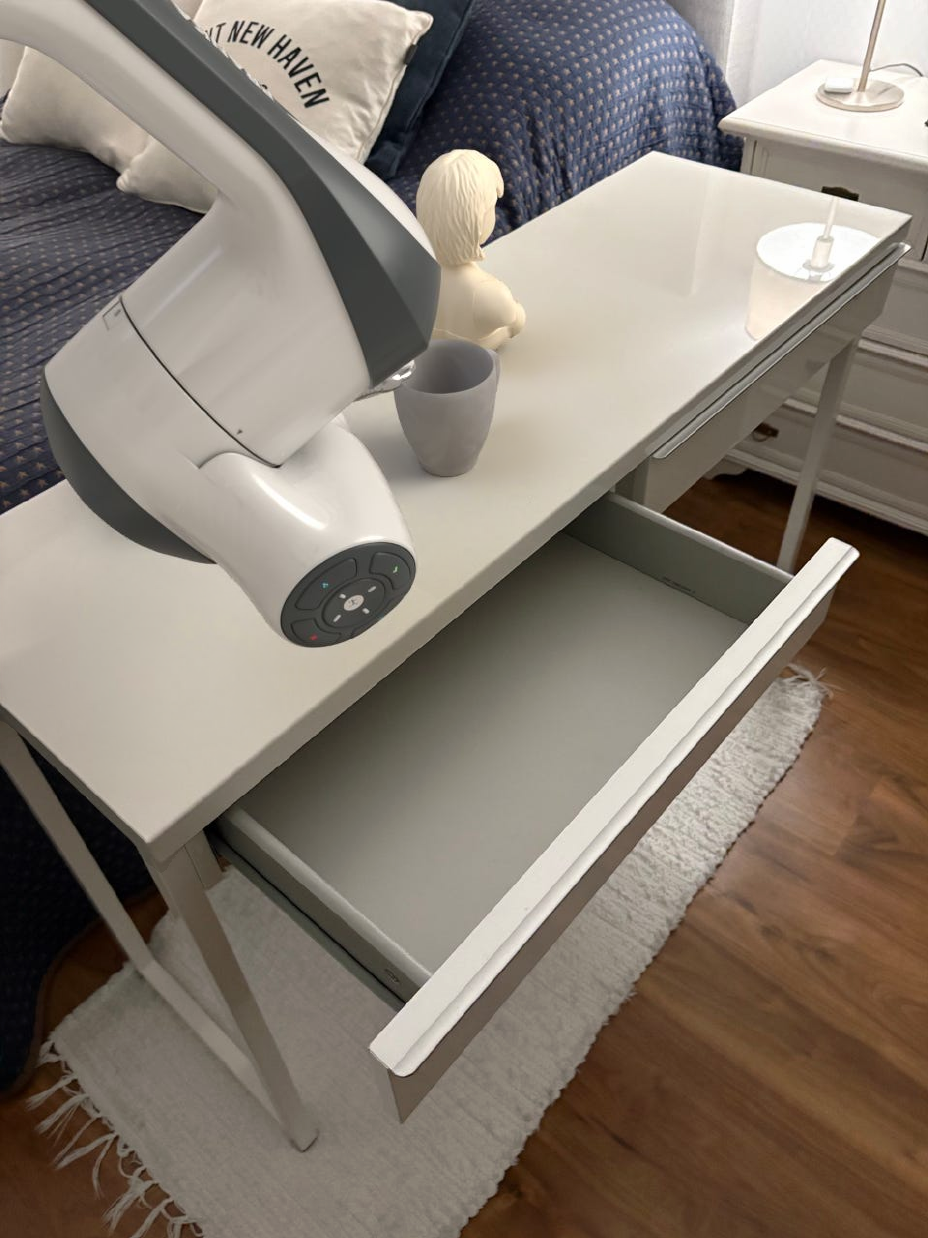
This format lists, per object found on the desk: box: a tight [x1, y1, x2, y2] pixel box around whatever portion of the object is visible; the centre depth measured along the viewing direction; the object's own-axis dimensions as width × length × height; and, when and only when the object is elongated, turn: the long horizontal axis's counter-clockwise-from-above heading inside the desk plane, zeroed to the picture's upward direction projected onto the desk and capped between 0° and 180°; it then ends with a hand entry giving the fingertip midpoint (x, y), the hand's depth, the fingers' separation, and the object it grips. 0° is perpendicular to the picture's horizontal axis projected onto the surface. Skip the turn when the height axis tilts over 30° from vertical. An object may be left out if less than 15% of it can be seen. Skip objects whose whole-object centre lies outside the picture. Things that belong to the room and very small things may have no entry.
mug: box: [392, 339, 501, 477], centre depth 85 cm, size 12×9×10 cm
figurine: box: [415, 149, 527, 351], centre depth 93 cm, size 14×9×20 cm
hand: (198, 312), depth 63 cm, fingers open, 8 cm apart
